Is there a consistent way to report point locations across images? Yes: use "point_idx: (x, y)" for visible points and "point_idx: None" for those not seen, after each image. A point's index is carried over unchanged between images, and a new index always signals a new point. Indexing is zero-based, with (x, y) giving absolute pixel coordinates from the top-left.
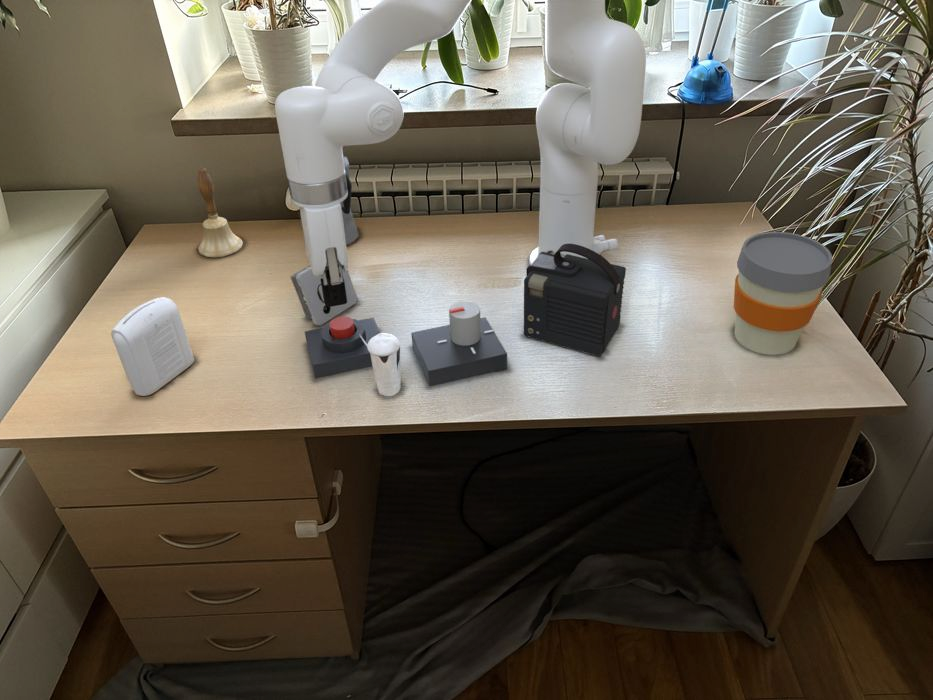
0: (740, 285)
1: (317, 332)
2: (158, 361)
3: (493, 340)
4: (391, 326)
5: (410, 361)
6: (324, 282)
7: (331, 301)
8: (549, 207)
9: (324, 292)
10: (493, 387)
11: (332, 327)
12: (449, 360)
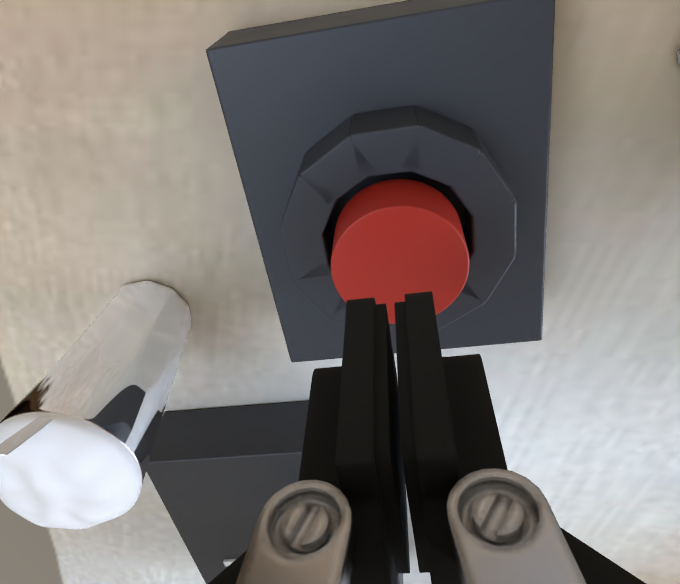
0: None
1: (511, 76)
2: None
3: None
4: (533, 349)
5: (301, 381)
6: (252, 541)
7: (313, 377)
8: None
9: (340, 396)
10: (162, 525)
11: (362, 222)
12: (196, 512)
